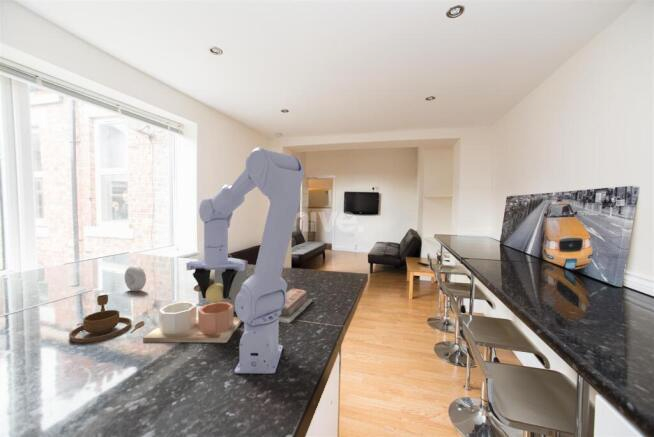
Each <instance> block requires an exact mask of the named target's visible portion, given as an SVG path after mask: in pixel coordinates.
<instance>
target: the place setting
mask: <svg viewBox="0 0 654 437" xmlns="http://www.w3.org/2000/svg"><path fill="white" fill-rule="evenodd" d="M96 298H97V305H98V306H100V311H96V312H94V313H91V314H88V315H86V316H85V317H83V322H81V323H80V324H81V325H80V326H78V327H75V328H74V329H73V330H71V331H70V333H69V334H68V337H69V339H70V340H71V341H72V342H74V343H78V344H86V343H87V344H88V343H94V342H95V343H96V342H101V341H104V340H105V341H106V340H108V339H111V338H113V337H116V336H118V335H120V334H122V333H125V332H126V331H127V330H129V328H130V326H131V324H132V319H130V318H129V317H121V316H120V311H119V310H118V309H109V310H107V309H106V308H105V306H106V305H108V302H109V294H101V295H97V296H96ZM120 323H121V324H125V326H124V327H123V328H120V329H118V330H115V331H112V330H113V329H115V327H117V326H118V324H120ZM144 325H145V321H139V322H138V323H136V324H135V325H134V329H132V330H131V332H130V333H129V334H133V333H134V332H135V331H136V330H137V329H139V328H141V327H142V326H144ZM82 330H85V332H87V333H88V334H91V335H93V337H83V338H82V337H80V338H79V337H77V336H76V335H77V334H78V333H79V332H80V331H82ZM111 331H112V332H111ZM82 332H83V331H82ZM110 332H111V333H110ZM79 334H80V333H79ZM79 334H78V335H79ZM75 336H76V337H75Z"/></svg>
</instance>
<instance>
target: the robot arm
mask: <svg viewBox="0 0 654 437" xmlns="http://www.w3.org/2000/svg"><path fill="white" fill-rule="evenodd" d="M305 171H306V169H305V168H304V166H303V164H302V162H301V160H300V158H298V157H297V156H296V155H292V154H291V155H289V154H285V153H281V152H278V151H277V152H276V151H272V150H269V149H266V148H264V147H258V146H257V147H255V148H254V149H253V150H252V151H251V152H250V154H249V155H248V156H247V157H246V160H245V168H244V170H243V171H242V172H241V174H240V175H239V176H238V177H237V178H236V180H235V181H234V182H233V183H225V184H224V185H223V186H222V187H221V189H220V190H218V192H217V193H216V194H214V196H213V197H212V198H204V199H203V198H202V200H201V202H200V203H199V208H198V209H199V210H198V214H199V218H200V220H201V221H202V222H203V260H198V261H196V260H195V261H193V260H191V261H188V262H186V263H185V264H186V271H193V270H195V271H194V272H193V273H192V276H193V278H194V280H195V281H196V283H197V285H199V287H200V290H201V291H200V292H201V296H202V298H203V299H207V298H206V290H207V288H208V287H209V279H210V272H211V270H225V271H224V272H223V273H221V275H222V280H223V298H224V299H226V298H227V297H229V293H230V289H231V285H232V282H233V280H234V278H235V276H236V274H237V271H238V270H239V271H243V270H244V269H245V262H236V261H228V258H229V243H228V242H229V231H228V230H229V228H230V226H231V220H232V217H233V212H234V211H235V210H236V209H238V207H241V205H242V204H244V202H245V200H246V199H245V195H247V194H249V192H251V191H253V189H255V188H258V190H259V191H260V192H261V194H262V195H264V196H266V197H267V199H268V200H269V206H268V207H269V208H268V212H267V215H266V219H265V220H266V221H265V224H264V229H263V231H262V232H263V233H262V237H261V242H260V246H259V250H258V254H257V259H256V263H255V266H254V267H255V268H254V271H253V272H254V273H252V274H251V275H250V276H249V277H248V278H246V281H245V282H244V283H243V284H242V286H241V290H240V292H239V293H238V294H237V296H236V299H235V313H236V317H239V319H240V320H242V323H243V332H242V336H241V337H240V341H239V346H238V347H239V352H238V353H239V357H238V358H239V359H238V360H239V361H238V363H237V365H236V366H235V369H234V373H235V374H275V373H276V371H277V367H278V366H279V365H278V364H279V360H280V358H281V355H282V350H283V348H284V346H283V345H282V344H281V345H280V344H279V334H280V333H279V323H280V322H279V315H281V309H283V308H284V307H285V305H286V301H287V296H286V292H287V291H288V290H287V288H288V283H287V281H286V280H285V279H284V278H283V277H282V273H283V269H284V264H285V261H286V257H287V253H288V249H289V245H290V242H291V237H292V234H293V230H294V227H295V222H296V219H297V215H298V210H299V207H300V203H301V186H302V183H303V180H304V175H305Z"/></svg>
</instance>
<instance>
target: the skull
mask: <svg viewBox="0 0 654 437" xmlns="http://www.w3.org/2000/svg"><path fill="white" fill-rule="evenodd" d="M214 276H215V270H211V272H210V279H209V286H210V285H212V284H214ZM193 290H194V291H196V292H201V290H200V287H199V285H198V284H196V285H195V286H194V287H193Z"/></svg>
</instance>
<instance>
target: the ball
mask: <svg viewBox="0 0 654 437" xmlns="http://www.w3.org/2000/svg"><path fill="white" fill-rule="evenodd" d="M205 299H206V300H207V301H208V302H209V303H210V304H212V303H219V302H221V301H222V300H223V299H224V298H223V285H222V284H219V283H215V284H212V285H210V286H209V287H208V288H207V290H206V298H205Z"/></svg>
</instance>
